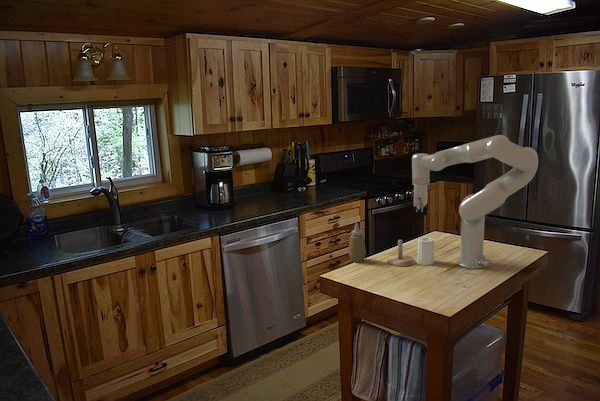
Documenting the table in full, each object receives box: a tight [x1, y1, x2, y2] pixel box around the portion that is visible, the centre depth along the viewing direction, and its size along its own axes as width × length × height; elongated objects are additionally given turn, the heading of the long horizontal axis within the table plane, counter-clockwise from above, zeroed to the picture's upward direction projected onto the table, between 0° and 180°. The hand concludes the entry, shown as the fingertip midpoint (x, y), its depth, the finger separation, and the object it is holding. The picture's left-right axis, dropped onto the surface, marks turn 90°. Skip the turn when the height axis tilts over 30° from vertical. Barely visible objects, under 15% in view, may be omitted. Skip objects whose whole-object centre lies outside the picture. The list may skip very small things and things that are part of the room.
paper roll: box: [417, 236, 435, 266], centre depth 218 cm, size 7×7×11 cm
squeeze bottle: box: [348, 222, 367, 263], centre depth 225 cm, size 8×8×18 cm
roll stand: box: [386, 239, 415, 268], centre depth 220 cm, size 12×12×10 cm
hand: (421, 217), depth 220 cm, fingers open, 9 cm apart
